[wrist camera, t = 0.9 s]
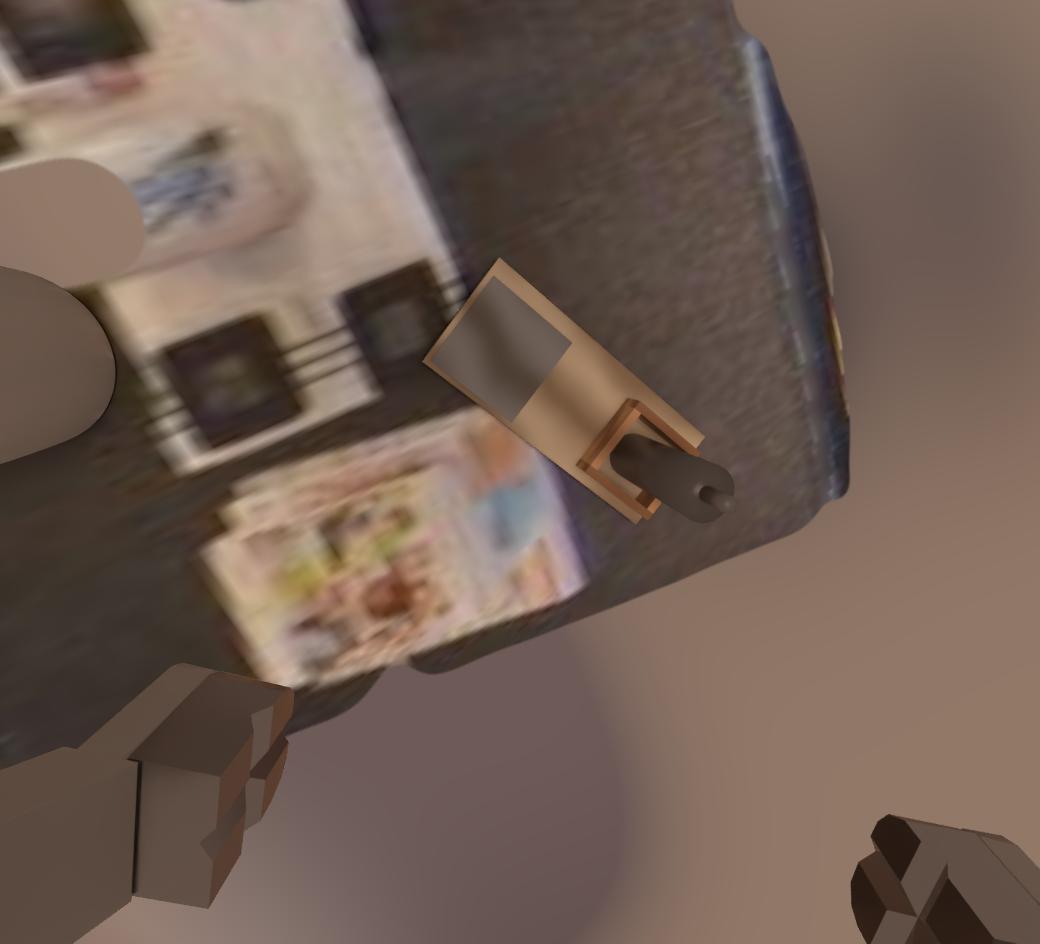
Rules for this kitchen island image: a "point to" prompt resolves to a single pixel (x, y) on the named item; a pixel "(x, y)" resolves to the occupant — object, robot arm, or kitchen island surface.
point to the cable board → (554, 386)
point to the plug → (675, 477)
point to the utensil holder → (48, 365)
